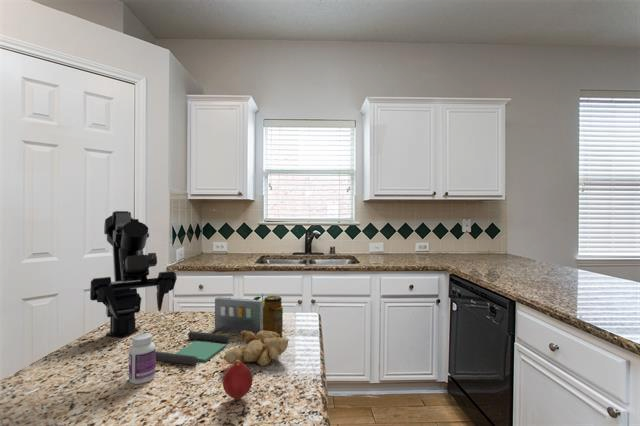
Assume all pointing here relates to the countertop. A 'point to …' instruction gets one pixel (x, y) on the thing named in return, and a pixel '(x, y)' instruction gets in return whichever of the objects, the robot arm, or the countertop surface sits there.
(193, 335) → the dark grey rod
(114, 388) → the countertop surface
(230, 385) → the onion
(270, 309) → the condiment
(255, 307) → the gray printed box
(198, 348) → the pad
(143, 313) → the countertop surface
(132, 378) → the pill bottle
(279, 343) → the ginger root
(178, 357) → the dark grey rounded rod
